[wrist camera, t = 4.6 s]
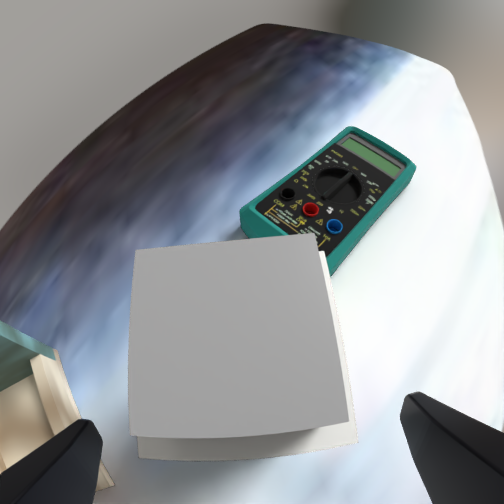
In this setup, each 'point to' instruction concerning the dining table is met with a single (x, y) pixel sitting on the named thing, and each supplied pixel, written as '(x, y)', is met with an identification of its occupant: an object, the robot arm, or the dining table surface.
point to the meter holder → (33, 398)
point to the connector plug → (236, 352)
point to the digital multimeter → (332, 194)
